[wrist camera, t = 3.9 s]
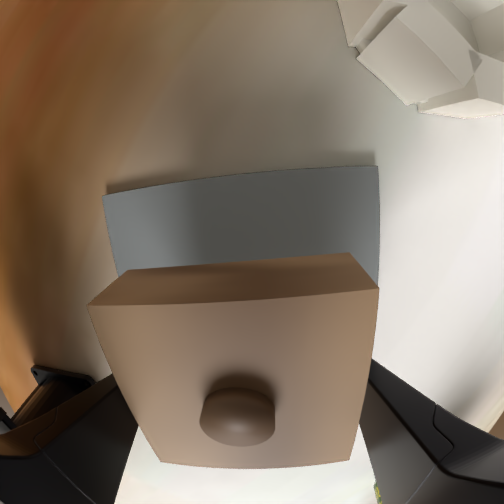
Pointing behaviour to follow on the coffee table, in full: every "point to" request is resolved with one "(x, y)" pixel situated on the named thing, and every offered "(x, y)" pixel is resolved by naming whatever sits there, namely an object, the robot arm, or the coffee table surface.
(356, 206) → the mat
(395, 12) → the bowl
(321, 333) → the lid
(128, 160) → the coffee table surface
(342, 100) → the coffee table surface
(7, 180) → the coffee table surface
